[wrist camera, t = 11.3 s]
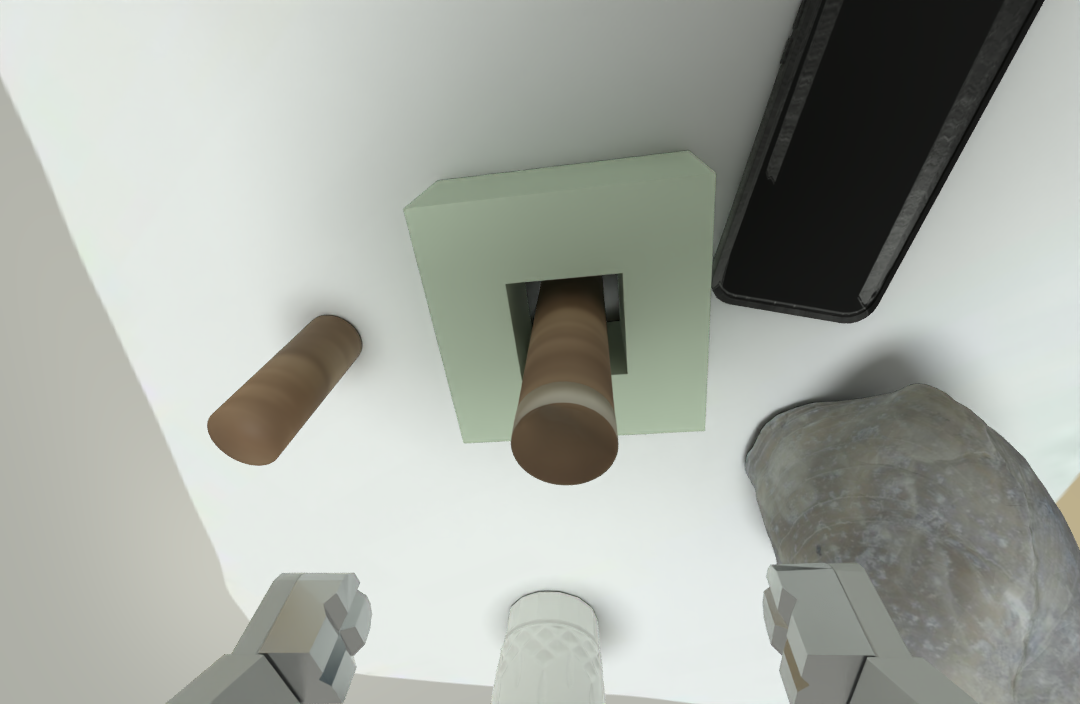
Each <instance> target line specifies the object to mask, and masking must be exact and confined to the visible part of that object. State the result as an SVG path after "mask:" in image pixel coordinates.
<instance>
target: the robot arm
mask: <svg viewBox="0 0 1080 704" xmlns="http://www.w3.org/2000/svg"><path fill="white" fill-rule="evenodd" d="M766 577H767V580H768V583H769V586H770V587H769V588H768V589H766V590H765V591H764V594H763V613H764V620H765V625H766V629H767V633H768V636H769V639H770V643H771V645H772V646H773V647H774V648H775V649H776V650H777V651H778V652H779V653H780V654H781V655H782V660H781V665H780V670H779V671H780V674H781V678H782V681H783V684H784V687H785V690H786V693H787V696H788V699H789V702H790V704H979V703H978V702H977V701H975V700H974V699H973V698H972V697H971V696H969V695H968V694H967V693H966V692H964V691H963V690H962V689H961V688H959V687H958V686H957V685H956V684H955V683H953V682H952V681H951V680H950V679H948V678H947V677H946V676H945V675H943V674H942V673H941V672H940V671H939V670H937V669H936V668H935V667H934V666H932V665H931V664H930V663H929V662H927V661H926V660H925V659H924V658H923V657H912V655H911V653H910V651H909V649H908V648H907V646H906V644H905V642H904V640H903V638H902V637H901V635H900V633H899V631H898V629H897V627H896V626H895V624H894V622H893V620H892V618H891V616H890V615H889V613H888V611H887V609H886V607H885V605H884V604H883V602H882V600H881V598H880V596H879V594H878V593H877V591H876V589H875V587H874V585H873V584H872V582H871V580H870V578H869V576H868V574H867V573H866V571H865V569H864V568H863V567H862V566H861V565H860V564H858V563H833V564H826V563H805V564H776V565H770V566H769V567H768V570H767V575H766ZM359 584H360V581H359V580H358V578H357V576H356V575H355V573H282V574H281V575H279V576H278V577H277V578H276V579H275V580H274V581H273V583H272V585H271V586H270V588H269V590H268V591H267V593H266V595H265V597H264V598H263V600H262V602H261V604H260V605H259V607H258V609H257V610H256V612H255V614H254V616H253V617H252V619H251V621H250V622H249V624H248V626H247V628H246V629H245V631H244V633H243V635H242V636H241V638H240V640H239V641H238V643H237V645H236V647H235V648H234V650H233V652H232V654H224V655H223V656H222V657H221V658H219V659H218V660H217V661H216V662H215V663H213V664H212V665H211V666H210V667H209V668H208V669H206V670H205V671H204V672H203V673H201V674H200V675H199V676H198V677H197V678H195V679H194V680H193V681H192V682H191V683H190V684H188V685H187V686H186V687H185V688H184V689H182V690H181V691H180V692H179V693H178V694H176V695H175V696H174V697H173V698H172V699H170V700H169V701H168V702H167V703H166V704H343V702H344V700H345V697H346V694H347V692H348V689H349V686H350V684H351V681H352V678H353V676H354V673H355V670H356V664H355V660H354V655H355V654H356V653H357V652H358V651H359V650H360V649H361V648H362V647H363V646H364V645H365V642H366V639H367V637H368V634H369V631H370V625H371V617H372V611H371V604H370V602H369V599H368V597H367V596H366V595H365V594H363V593H362V592H360V591H359V590H357V589H358V587H359Z"/></svg>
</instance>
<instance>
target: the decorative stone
mask: <svg viewBox="0 0 1080 704" xmlns="http://www.w3.org/2000/svg"><path fill="white" fill-rule="evenodd" d="M745 471H746V474H747V476H748V477H749V479H750V480H751V483H752V484H753V486H754V488H755V490H756V498H757V502H758V505H759V508H760V511H761V514H762V518H763V521H764V524H765V527H766V530H767V533H768V536H769V538H770V541H771V543H772V547H773V550H774V553H775V556H776V560H777V564H805V563H826V564H833V563H858V564H860V565H861V566H862V567H863V568H864V569H865V571H866V573H867V574H868V576H869V578H870V580H871V582H872V584H873V585H874V587H875V589H876V591H877V593H878V594H879V596H880V598H881V600H882V602H883V604H884V605H885V607H886V609H887V611H888V613H889V615H890V616H891V618H892V620H893V622H894V624H895V626H896V627H897V629H898V631H899V633H900V635H901V637H902V638H903V640H904V642H905V644H906V646H907V648H908V649H909V651H910V653H911V655H912V657H923V658H924V659H925V660H926V661H927V662H929V663H930V664H931V665H932V666H934V667H935V668H936V669H937V670H939V671H940V672H941V673H942V674H943V675H945V676H946V677H947V678H948V679H950V680H951V681H952V682H953V683H955V684H956V685H957V686H958V687H959V688H961V689H962V690H963V691H964V692H966V693H967V694H968V695H969V696H971V697H972V698H973V699H974V700H975V701H977V702H978V703H979V704H1080V550H1079V547H1078V546H1077V543H1076V541H1075V539H1074V536H1073V534H1072V532H1071V530H1070V528H1069V526H1068V524H1067V522H1066V520H1065V518H1064V516H1063V515H1062V513H1061V511H1060V510H1059V508H1058V507H1057V505H1056V504H1055V502H1054V501H1053V499H1052V498H1051V496H1050V495H1049V493H1048V491H1047V490H1046V488H1045V487H1044V485H1043V484H1042V483H1041V481H1040V480H1039V478H1038V477H1037V476H1036V474H1035V473H1034V471H1033V470H1032V468H1031V467H1030V465H1029V464H1028V462H1027V461H1026V459H1025V458H1024V457H1023V456H1022V455H1021V454H1020V453H1019V452H1018V451H1017V450H1016V449H1015V448H1014V447H1013V446H1012V445H1010V444H1009V443H1008V442H1007V441H1006V440H1005V439H1004V438H1003V437H1002V436H1001V435H1000V434H998V433H997V432H996V431H995V430H993V429H992V428H990V427H989V426H988V425H987V424H986V423H985V422H984V421H983V420H982V419H981V418H980V417H978V416H977V415H976V414H975V413H973V411H971V410H970V409H969V408H967V407H965V406H963V405H962V404H960V403H958V402H956V401H955V400H954V399H953V398H951V397H950V396H949V395H948V394H946V393H945V392H943V391H941V390H939V389H937V388H934V387H932V386H929V385H926V384H919V383H917V384H911V385H909V386H907V387H905V388H903V389H901V390H898V391H895V392H893V393H888V394H883V395H878V396H872V397H867V398H861V399H852V400H844V401H835V402H817V403H811V404H807V405H803V406H800V407H796V408H794V409H791V410H789V411H786V412H783V413H781V414H778V415H776V416H775V417H774V418H773V419H772V420H771V421H769V422H768V423H766V424H765V426H764V427H763V428H762V429H761V432H760V434H759V435H758V437H757V440H756V442H755V444H754V446H753V448H752V449H751V450H750V451H749V453H748V454H747V458H746V463H745Z"/></svg>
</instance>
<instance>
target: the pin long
mask: <svg viewBox="0 0 1080 704" xmlns="http://www.w3.org/2000/svg"><path fill="white" fill-rule="evenodd" d="M511 449H512V452H513V455H514V457H515V459H516V461H517V462H518V464H519V465H520V466H521V467H522V468H523V469H524V470H525V471H526V472H527V473H529V474H530V475H532V476H533V477H535V478H537V479H539V480H542V481H544V482H547V483H551V484H556V485H577V484H582V483H586V482H589V481H591V480H594V479H596V478H597V477H599V476H601V475H602V474H603V473H605V472H606V471H607V470H608V469H609V468H610V466H611V465H612V464H613V462H614V460H615V458H616V456H617V452H618V434H617V424H616V416H615V410H614V399H613V388H612V377H611V367H610V356H609V345H608V334H607V324H606V313H605V302H604V291H603V281H602V276H601V275H597V276H586V277H575V278H565V279H554V280H543V281H541V285H540V290H539V295H538V301H537V306H536V311H535V317H534V322H533V327H532V333H531V338H530V343H529V349H528V354H527V359H526V365H525V370H524V375H523V381H522V386H521V391H520V397H519V402H518V407H517V410H516V415H515V420H514V425H513V430H512V435H511Z"/></svg>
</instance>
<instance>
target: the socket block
mask: <svg viewBox="0 0 1080 704" xmlns="http://www.w3.org/2000/svg"><path fill="white" fill-rule="evenodd" d="M715 186H716V173H715V172H714V171H713V170H712V169H711V168H709V167H708V166H707V165H706V164H705V163H703V162H702V161H701V160H700V159H699V158H697V157H696V156H695V155H694V154H693V153H691V152H690V151H689V150H687V151H679V152H671V153H663V154H654V155H646V156H638V157H629V158H621V159H613V160H605V161H596V162H588V163H580V164H571V165H563V166H555V167H546V168H538V169H530V170H522V171H513V172H505V173H497V174H488V175H480V176H472V177H464V178H455V179H447V180H439V181H436V182H435V183H434V184H433V185H431V186H430V187H429V188H428V189H427V190H425V191H424V192H423V193H422V194H421V195H419V196H418V197H417V198H416V199H414V200H413V201H412V202H411V203H410V204H408V205H407V206H406V207H405V208H404V209H403V210H404V214H405V218H406V222H407V226H408V230H409V234H410V237H411V241H412V245H413V249H414V253H415V257H416V261H417V265H418V268H419V272H420V276H421V280H422V284H423V288H424V292H425V296H426V299H427V303H428V307H429V311H430V315H431V319H432V323H433V326H434V330H435V334H436V338H437V342H438V346H439V350H440V354H441V357H442V361H443V365H444V369H445V373H446V377H447V381H448V385H449V388H450V392H451V396H452V400H453V404H454V408H455V412H456V415H457V419H458V423H459V427H460V431H461V435H462V439H463V443H482V442H502V441H511V435H512V430H513V425H514V420H515V415H516V410H517V407H518V402H519V397H520V391H521V386H522V381H523V375H524V370H525V365H526V359H527V354H528V349H529V343H530V338H531V333H532V325H531V318H530V312H529V305H528V299H527V292H526V285H525V282H532V281H543V280H554V279H565V278H575V277H586V276H597V275H608V274H617V276H618V294H619V313H620V321H612V322H606V324H607V334H608V345H609V356H610V367H611V377H612V388H613V399H614V410H615V416H616V424H617V434H618V435H636V434H655V433H674V432H694V431H705V417H706V394H707V371H708V348H709V325H710V302H711V279H712V256H713V232H714V209H715Z"/></svg>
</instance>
